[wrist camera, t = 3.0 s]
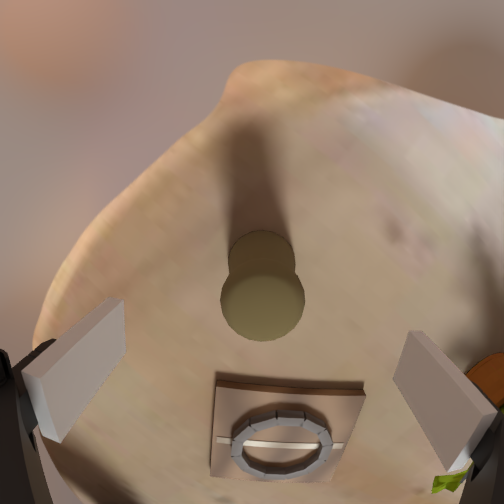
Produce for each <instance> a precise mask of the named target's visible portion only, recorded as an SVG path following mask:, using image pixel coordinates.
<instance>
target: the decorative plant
mask: <svg viewBox="0 0 504 504" xmlns="http://www.w3.org/2000/svg"><path fill="white" fill-rule="evenodd" d="M465 376H466V377H467V378H468V379H469V380H471V381H472V382H474V383H476V384H477V385H478V386H479V387H480V388H481V389H482V390H483V393H485V394H486V395H487V396H488V398H490V399H491V400H492V401H493V403H494V404H495V405H496V406H497V407H498V408H499V409H500V410H501V412H502V413H503V414H504V353H496V354H493V355H491V356H488V357H486V358H485V359H483V360H482V361H480V362H479V363H478V364H476V365H475V366H474V367H473V368H472V369H471V370H470V371H469V372H468V373H467V374H466V375H465ZM473 463H474V462H472V464H473ZM472 464H471V465H470V467H471V466H472ZM470 467H469V468H470ZM469 468H468V470H469ZM468 470H466V471H463V472H461V473H458V474H455V475H445V476H435V478H434V482H433V488H432V490H431V491H432V493H437V492H439V491H441V490H443V489H447V490H449V491H452V492H454V491H455V490H456V489H457V488H458V486H459V485H460V484H461V483H459V482H460V481H461V479H462V478H463V476H464V475H465V474H466V472H467V471H468ZM432 493H431V494H432Z"/></svg>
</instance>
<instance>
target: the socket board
mask: <svg viewBox="0 0 504 504" xmlns="http://www.w3.org/2000/svg"><path fill="white" fill-rule="evenodd" d="M365 398H366V394H365V392H364V390H340V389H309V388H292V387H277V386H266V385H255V384H245V383H236V382H228V381H220V380H217V385H216V396H215V409H214V423H213V438H212V454H211V470H210V476H213V477H221V478H229V479H239V480H250V481H265V482H330V480H331V478H332V476H333V474H334V471H335V469H336V467H337V465H338V463H339V461H340V459H341V456H342V454H343V452H344V450H345V447H346V445H347V443H348V440H349V438H350V436H351V433H352V431H353V429H354V426H355V424H356V421H357V419H358V416H359V413H360V411H361V408H362V406H363V403H364V400H365Z"/></svg>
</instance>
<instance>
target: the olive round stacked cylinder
mask: <svg viewBox="0 0 504 504" xmlns="http://www.w3.org/2000/svg"><path fill="white" fill-rule="evenodd" d="M228 266H229V276H228V277H227V279H226V281H225V283H224V285H223V287H222V292H221V298H220V302H221V308H222V313H223V316H224V317H225V319H226V321H227V323H228V325H229V326H230V327H231V328H232V329H233V330H234V331H235V332H236V333H237V334H239V335H241V336H243V337H245V338H247V339H249V340H255V341H261V342H262V341H271V340H275V339H278V338H280V337H283V336H285V335H286V334H287V333H289V332H290V331H291V330H292V329H294V328H295V326H296V325H297V323H298V322H299V320H300V319H301V317H302V313H303V309H304V305H305V295H304V289H303V287H302V284H301V282H300V280H299V278H298V276H297V275H296V274H295V256H294V253H293V251H292V248H291V246H290V245H289V244H288V242H287V241H286V240H285V239H284V238H283V237H281V236H279V235H277V234H276V233H274V232H269V231H264V230H262V231H254V232H251V233H248V234H246V235H244V236H242V237H241V238H240V239H239V240H238V241H237V242H236V243H235V244H234V246H233V248H232V250H231V251H230V254H229V260H228Z"/></svg>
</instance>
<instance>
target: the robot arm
mask: <svg viewBox="0 0 504 504" xmlns="http://www.w3.org/2000/svg"><path fill="white" fill-rule="evenodd" d="M125 353H126V343H125V324H124V300H123V299H117V298H112V297H108V298H107V299H106V300H104V301H103V302H102V303H101V304H99V305H98V306H97V307H96V308H95V309H93V310H92V311H91V312H90V313H88V314H87V315H86V316H85V317H84V318H82V319H81V320H80V321H79V322H78V323H76V324H75V325H74V326H73V327H72V328H70V329H69V330H68V331H67V332H66V333H64V334H63V335H62V336H61V337H60V338H59V339H57V340H56V339H50V340H48V341H46V342H43V343H41V344H40V345H39V346H38V347H37V348H35V350H34V351H32V352H31V353H30V354H29V355H28V356H26V357H25V358H23V359H22V360H21V361H20V362H19V363H18V364H17V365H15V366H14V367H13V368H11V364H10V360H9V357H8V354H7V353H6V352H5V351H4V350H2V349H0V504H53V501H52V498H51V496H50V493H49V489H48V486H47V482H46V479H45V476H44V472H43V468H42V464H41V460H40V456H39V452H38V448H37V443H36V438H35V435H34V433H33V429H34V428H35V427H36V426H37V424H38V425H39V428H40V431H41V433H42V436H44V437H46V438H49V439H51V440H53V441H56V442H58V443H61V442H62V440H63V439H64V438H65V436H66V435H67V433H68V432H69V430H70V429H71V428H72V426H73V425H74V423H75V422H76V420H77V419H78V418H79V416H80V415H81V413H82V412H83V411H84V409H85V408H86V406H87V405H88V404H89V402H90V401H91V399H92V398H93V397H94V395H95V394H96V392H97V391H98V390H99V388H100V387H101V386H102V384H103V383H104V381H105V380H106V379H107V377H108V376H109V375H110V373H111V372H112V371H113V369H114V368H115V367H116V365H117V364H118V363H119V361H120V360H121V358H122V357H123V356H124V354H125ZM393 380H394V382H395V384H396V385H397V387H398V389H399V390H400V392H401V394H402V395H403V397H404V398H405V400H406V402H407V403H408V405H409V407H410V409H411V410H412V412H413V414H414V415H415V417H416V419H417V420H418V422H419V424H420V426H421V427H422V429H423V431H424V432H425V434H426V436H427V438H428V439H429V441H430V443H431V445H432V446H433V448H434V450H435V452H436V454H437V455H438V457H439V459H440V461H441V463H442V464H443V466H444V468H445V470H446V472H450V471H454V470H458V469H461V468H463V466H464V465H465V464H466V462H467V461H468V459H469V458H470V457H471V459H472V460H473V462H474V463H473V464H472V466H471V467H470V468H469V470H468V471H467V472H466V474H465V475H464V476H463V478H462V479H461V481H460V482H459V483H462V482H463V481H464V480H465V479H466V483H465V486H464V490H463V493H462V496H461V499H460V502H459V504H504V414H503V413H502V412H501V410H500V409H499V408H498V407H497V406H496V405H495V404H494V403H493V401H492V400H491V399H490V398H488V396H487V395H486V394H485V393H483V390H482V389H481V388H480V387H479V386H478V385H477V384H476V383H474V382H472V381H471V380H469V379H468V378H467V377H466V376H465V375H464V374H463V373H462V372H461V371H460V370H459V368H458V367H457V366H456V365H455V364H454V363H453V362H452V361H451V360H450V359H449V358H448V357H447V356H446V355H445V354H444V353H443V352H442V351H441V350H440V349H439V348H438V347H437V345H436V344H435V343H434V342H433V341H432V340H431V339H430V338H429V337H428V336H427V335H426V334H425V333H424V332H423V331H411V330H409V332H408V335H407V339H406V342H405V345H404V348H403V351H402V354H401V357H400V360H399V363H398V366H397V369H396V371H395V374H394V377H393Z"/></svg>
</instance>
